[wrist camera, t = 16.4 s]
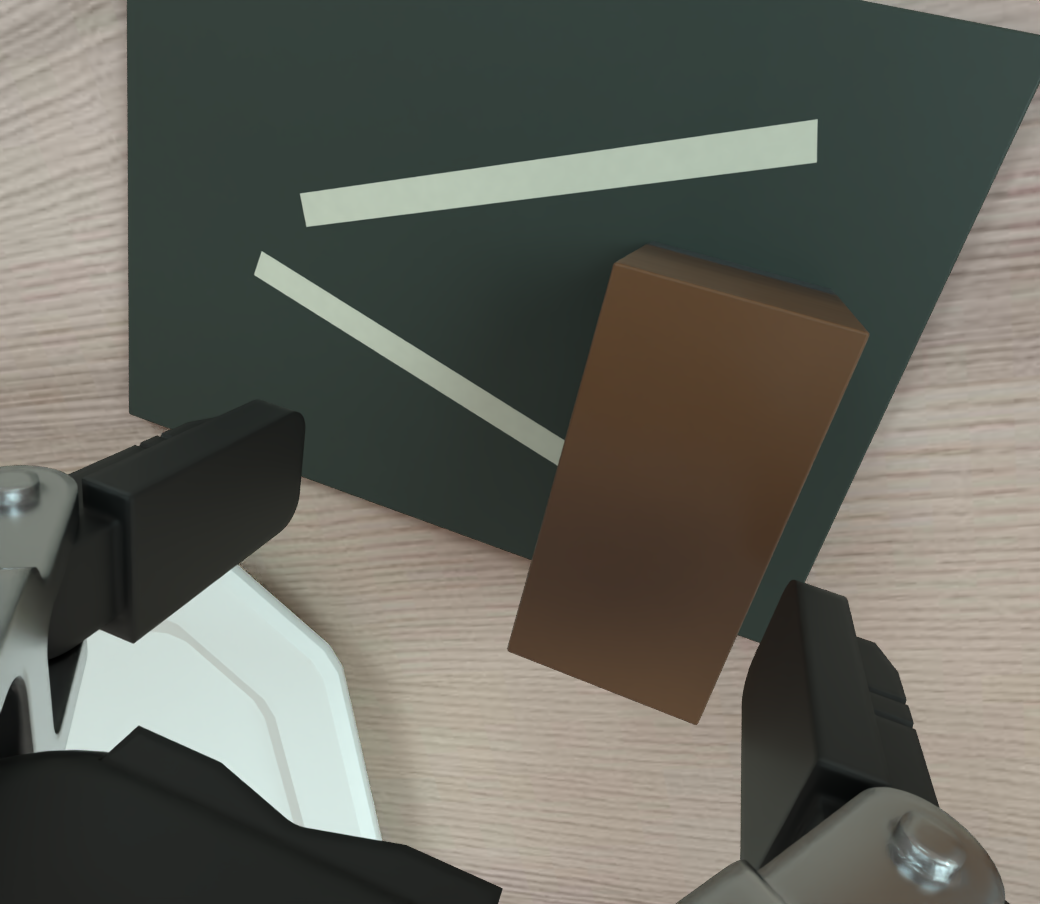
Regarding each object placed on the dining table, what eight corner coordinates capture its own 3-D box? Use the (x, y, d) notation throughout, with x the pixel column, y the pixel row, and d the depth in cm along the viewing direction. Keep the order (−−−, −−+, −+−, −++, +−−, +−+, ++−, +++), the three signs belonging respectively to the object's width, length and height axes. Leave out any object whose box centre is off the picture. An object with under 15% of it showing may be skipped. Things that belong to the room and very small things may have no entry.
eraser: (651, 239, 16) (613, 261, 11) (833, 289, 15) (871, 333, 10) (562, 541, 19) (505, 651, 14) (708, 593, 18) (697, 726, 14)
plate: (458, 1063, 29) (437, 1127, 27) (20, 941, 37) (-22, 984, 35) (345, 517, 21) (303, 551, 19) (-183, 506, 29) (-252, 529, 27)
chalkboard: (141, -134, 17) (124, -144, 16) (1051, 43, 13) (1062, 37, 13) (140, 409, 22) (128, 414, 22) (773, 637, 19) (774, 649, 18)
